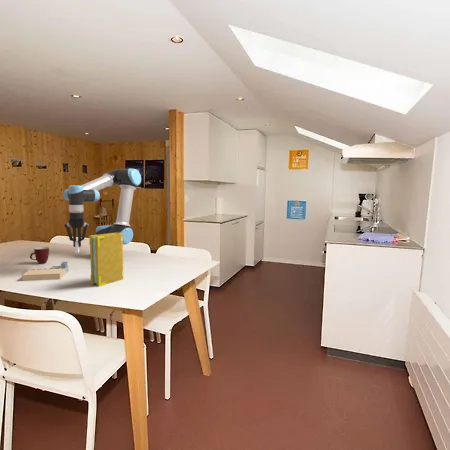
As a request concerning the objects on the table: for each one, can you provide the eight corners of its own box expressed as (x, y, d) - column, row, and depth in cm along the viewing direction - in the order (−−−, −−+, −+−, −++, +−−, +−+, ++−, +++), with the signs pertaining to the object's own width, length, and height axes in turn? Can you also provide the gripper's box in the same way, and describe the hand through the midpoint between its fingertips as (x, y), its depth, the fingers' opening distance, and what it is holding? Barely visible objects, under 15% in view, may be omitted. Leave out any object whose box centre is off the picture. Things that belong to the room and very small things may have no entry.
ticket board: (65, 273, 176) (65, 267, 176) (59, 279, 165) (59, 273, 164) (30, 274, 172) (30, 269, 172) (22, 280, 160) (21, 274, 160)
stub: (68, 270, 182) (68, 261, 181) (66, 272, 177) (65, 263, 176) (53, 271, 180) (53, 261, 179) (50, 273, 175) (50, 264, 174)
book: (99, 286, 153) (97, 236, 151) (90, 284, 157) (89, 235, 154) (126, 278, 168) (125, 233, 165) (118, 276, 171) (117, 232, 168)
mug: (31, 265, 192) (30, 250, 191) (29, 263, 198) (28, 248, 197) (50, 263, 199) (50, 248, 197) (48, 261, 205) (47, 246, 204)
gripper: (89, 211, 183) (90, 251, 185) (65, 211, 179) (66, 251, 182) (87, 212, 175) (88, 253, 177) (62, 212, 172) (63, 253, 174)
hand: (77, 252), depth 180 cm, fingers closed
